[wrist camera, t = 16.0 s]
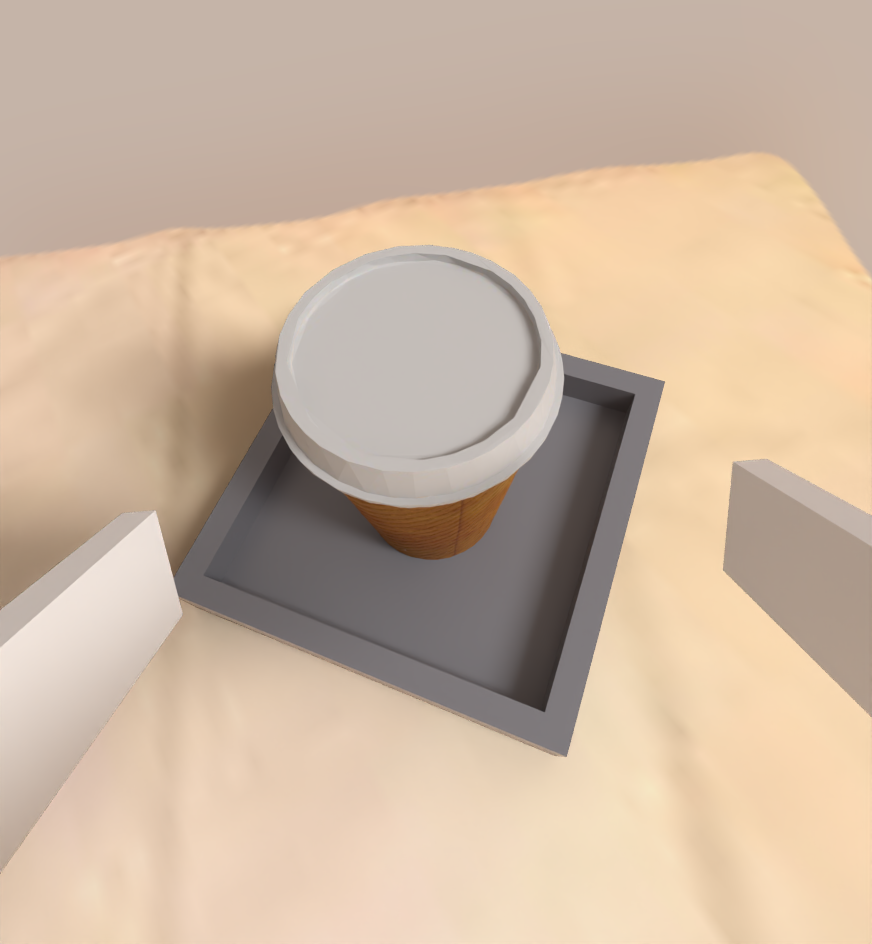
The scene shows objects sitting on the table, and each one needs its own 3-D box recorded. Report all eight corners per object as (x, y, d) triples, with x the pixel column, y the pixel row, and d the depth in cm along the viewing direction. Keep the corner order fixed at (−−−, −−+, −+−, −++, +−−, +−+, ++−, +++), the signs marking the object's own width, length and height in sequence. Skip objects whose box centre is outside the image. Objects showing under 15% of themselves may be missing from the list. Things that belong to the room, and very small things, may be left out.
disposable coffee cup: (355, 410, 31) (296, 228, 20) (533, 423, 30) (572, 241, 19) (320, 583, 27) (222, 473, 16) (525, 605, 26) (568, 503, 15)
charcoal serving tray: (194, 606, 28) (165, 591, 25) (350, 328, 35) (340, 292, 32) (555, 755, 24) (566, 756, 22) (647, 413, 31) (664, 381, 29)
